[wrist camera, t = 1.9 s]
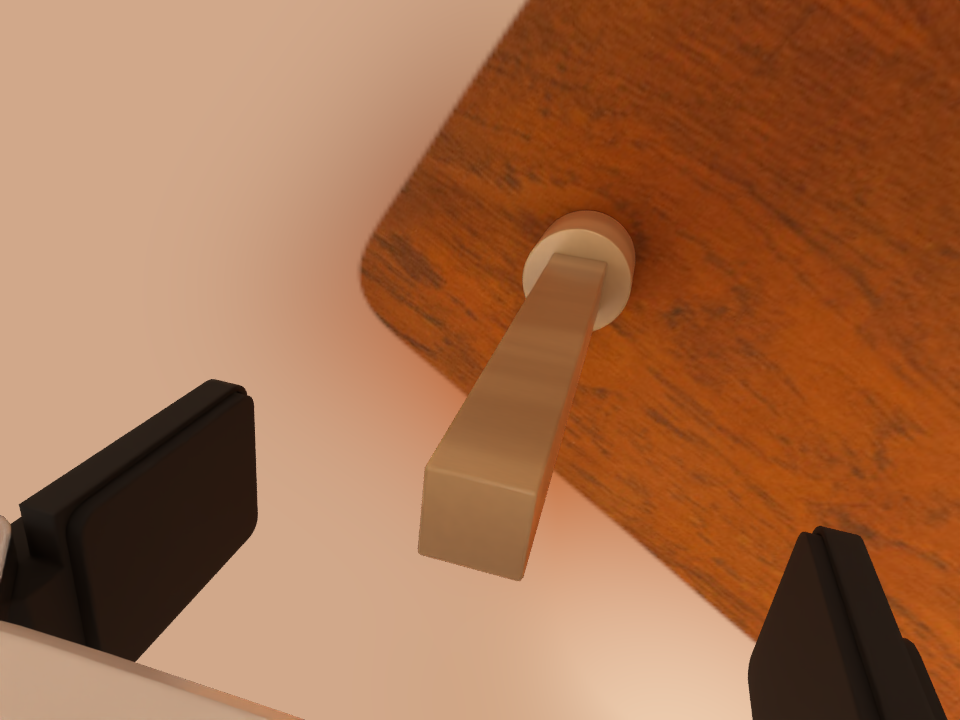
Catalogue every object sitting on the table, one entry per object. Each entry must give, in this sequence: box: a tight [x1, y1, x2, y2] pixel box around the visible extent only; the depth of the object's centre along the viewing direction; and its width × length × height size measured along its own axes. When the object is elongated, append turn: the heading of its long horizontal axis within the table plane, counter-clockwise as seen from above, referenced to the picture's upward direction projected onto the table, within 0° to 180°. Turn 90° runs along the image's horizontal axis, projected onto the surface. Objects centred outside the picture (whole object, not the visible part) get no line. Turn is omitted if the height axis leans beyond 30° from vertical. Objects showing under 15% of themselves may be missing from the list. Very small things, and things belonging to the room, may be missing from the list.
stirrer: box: [418, 210, 635, 581], centre depth 18 cm, size 4×4×16 cm
